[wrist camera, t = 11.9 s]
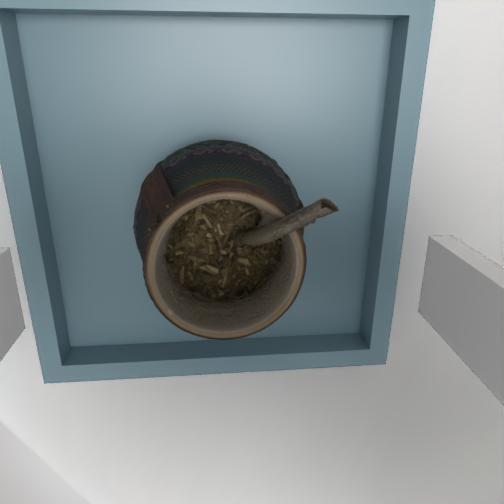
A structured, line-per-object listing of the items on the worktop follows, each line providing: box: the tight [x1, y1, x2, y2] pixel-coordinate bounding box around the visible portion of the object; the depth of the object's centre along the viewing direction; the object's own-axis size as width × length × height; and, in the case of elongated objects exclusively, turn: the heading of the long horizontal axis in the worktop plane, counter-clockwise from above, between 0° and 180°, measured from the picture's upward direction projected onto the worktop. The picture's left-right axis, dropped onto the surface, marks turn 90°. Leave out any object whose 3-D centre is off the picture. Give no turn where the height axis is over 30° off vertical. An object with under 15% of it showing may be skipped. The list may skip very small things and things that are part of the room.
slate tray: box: [0, 0, 435, 383], centre depth 22 cm, size 18×18×2 cm
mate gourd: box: [133, 139, 339, 340], centre depth 18 cm, size 7×8×10 cm
